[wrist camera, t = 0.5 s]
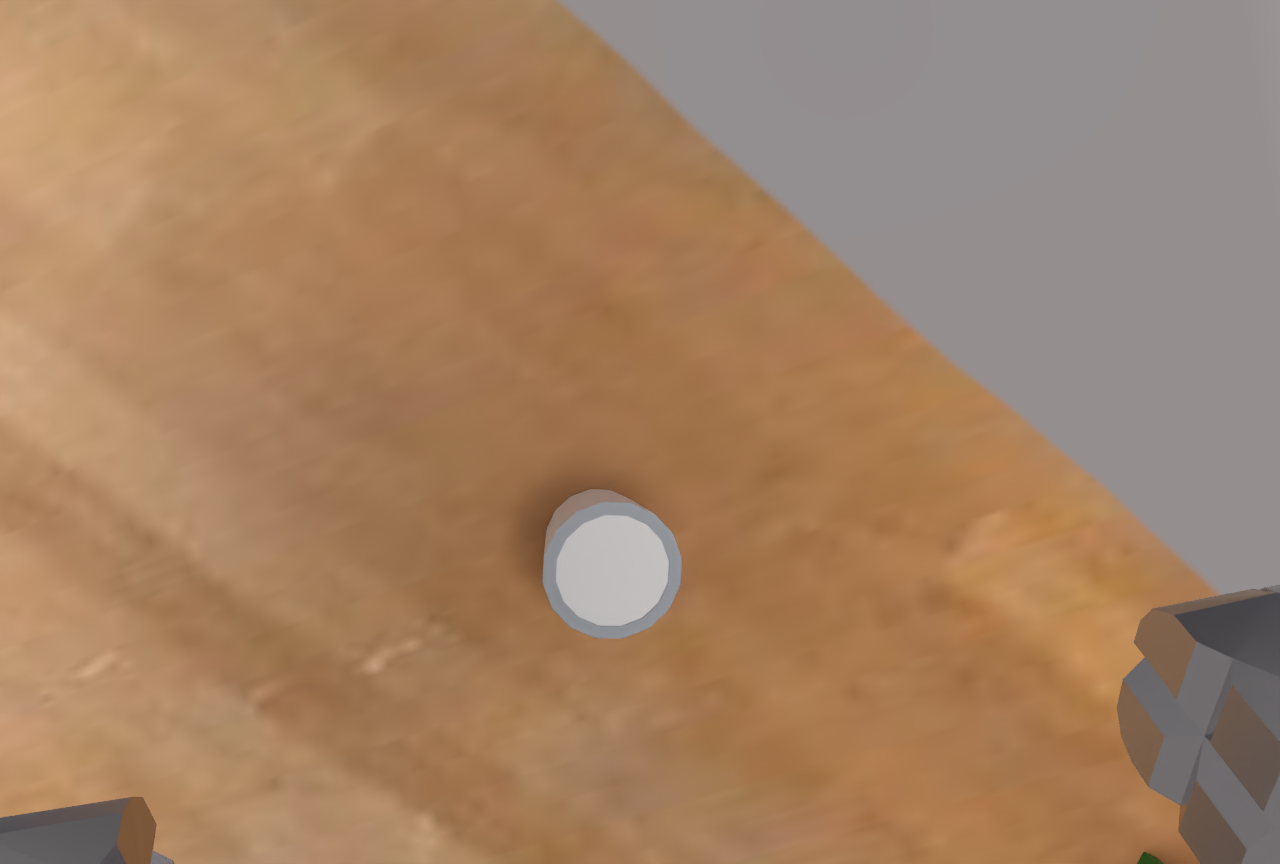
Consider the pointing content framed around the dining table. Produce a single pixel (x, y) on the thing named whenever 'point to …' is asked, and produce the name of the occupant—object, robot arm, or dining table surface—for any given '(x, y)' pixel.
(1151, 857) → the hardback book
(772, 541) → the dining table surface
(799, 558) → the dining table surface
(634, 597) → the light grey cylinder
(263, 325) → the dining table surface
